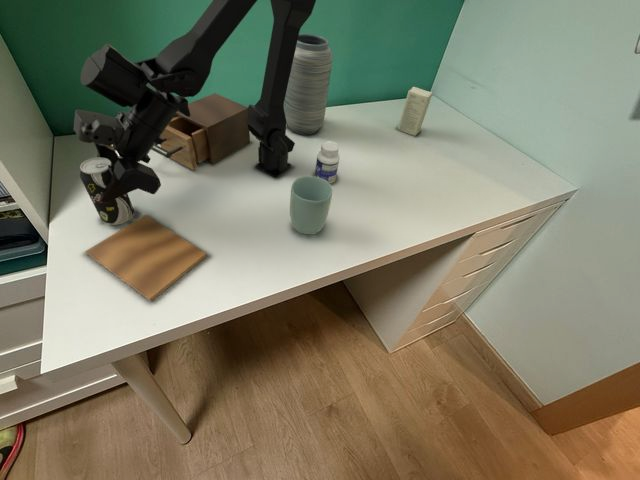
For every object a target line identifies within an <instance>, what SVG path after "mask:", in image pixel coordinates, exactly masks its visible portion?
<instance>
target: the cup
mask: <svg viewBox="0 0 640 480" xmlns="http://www.w3.org/2000/svg"><path fill="white" fill-rule="evenodd" d="M289 197H290V198H289V219H290V223H291V225H292V227H293V228H294V229H295V231H297V232H298V233H300V234H304V235H315V234H318V233H319V232H320V231H321V230H322V229H323V228H324V226H325V224H326V222H327V220H328V217H329V213H330V208H331V204H332V198H333V187H332V184H331V183H328V182H327V181H326V180H324V179H322V178H319V177H315V175H303V176H300V177H298V178H296V179H295V180H293V182H292V184H291V187H290V196H289Z"/></svg>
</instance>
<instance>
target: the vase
mask: <svg viewBox="0 0 640 480" xmlns="http://www.w3.org/2000/svg"><path fill="white" fill-rule="evenodd" d="M329 45H330V44H329V40H328V39H327V38H325V37H324V36H321V35H317V34H313V33H312V34H311V33H299V36H298V41H297V45H296V50H295V54H294V59H293V64H292V68H291V73H290V78H289V82H288V87H287V91H286V96H285V101H284V111H285V117H286V122H287V123H286V126H288V129H289V130H291V131H292V132H294V133H296V134H299V135H312V134H315V133H316V132H317V131H318V130H319V129H321V128H322V126H323V125H324V122H325V119H326V117H325V116H326V110H327V103H328V94H329V87H330V81H331V73H332V67H333V60H334V59H333V51H332V50H331V48H330V47H329Z"/></svg>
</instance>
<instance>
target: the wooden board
mask: <svg viewBox="0 0 640 480" xmlns="http://www.w3.org/2000/svg"><path fill="white" fill-rule="evenodd" d="M85 254H86V255H87V256H89V257H90V258H91V259H92V260H94V261H95V262H97V264H99V265H100V266H102V267H103V268H104V269H106V270H107V271H109V272H110V273H111V274H112V275H114V276H116V277H117V278H118V279H119V280H121V282H123V283H125V284H126V285H128V286H129V287H131V289H133V290H134V291H136V292H137V293H138V294H140V295H141V296H142V297H143V298H145V299H146V300H148V301H149V302H153V301H154V300H155V299H156V298H157V297H159V296H160V295H161V294H162V293H164V292H165V291H166V290H167V289H168V288H170V287H171V286H172V285H173V284H175V283H176V282H177V281H178V280H179V279H181V278H182V277H183V276H184V275H186V274H187V273H188V272H189V271H191V270H193V268H194V267H195V266H197V265H198V264H199V263H200V262H202V261H203V260H204V259H205V258H206V257H208V254H207V253H206V251H203V250H202V249H201V248H198V247H197V246H196V245H194V244H192V243H191V242H189V241H188V240H186V239H184V238H183V237H181V236H180V235H178V234H177V233H175V232H173V231H172V230H170V229H168V228H167V227H165V225H162V224H161V223H159V222H157V221H156V220H155V219H153V218H152V217H150V216H148V215H146V214H144V215H143V216H141V217H140V218H138V219H136V220H135V221H133V222H131V223H130V224H128V225H126V226H124V227H123V228H121V229H119V230H118V231H117V232H115V233H113V234H112V235H110V236H108V237H107V238H105V239H104V240H102V241H100V242H99V243H97V244H95V245H93V246H92V247H90V248H89V249H87V250H85Z"/></svg>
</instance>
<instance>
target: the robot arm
mask: <svg viewBox="0 0 640 480" xmlns="http://www.w3.org/2000/svg"><path fill="white" fill-rule="evenodd" d="M257 2H258V0H212V1H211V2H210V3H209V5H208V6H207V8H205V10H204V11H203V13H202V14H201V16H200V17H199V18H198V20H196V22H195V24H194V25H193V26H192V27H191V29H189V31H187V32H186V33H185V34H183V35H181V36H179V37H177V38H175V39H173V40H172V41H171V42H170V43H168V45H166V46H165V47H164V48H163V49H162V50H161V51H160V52H159V53H158V54H157V55H156V56H154V57H150V58H145V59H143V60H139V61H135V62H132V61H131V60H130V59H128V58H127V57H125V56H124V55H122V54H121V53H120V52H119V51H118V50H117V49H116V48H115V47H113V46H112V45H111V44H109V43H105V44H104V45H103V47H102V48H101V49H98V50H96V51H95V52H94V53H93V54H92V55H91V56H90V55H89V56H88V57H87V58H86V60H85V61H84V64H83V66H82V68H81V70H80V71H81V72H80V78H79V79H80V84H81V85H83V86H84V87H86V88H88V89H90V90H91V91H93V92H95V93H96V94H98V95H100V96H102V97H103V98H105V99H107V100H109V101H111V102H113V103H114V104H116V105H118V106H120V107H121V108H127V107H129V108H130V109H129V110H128V111H127V112H126V111H125V110H122V111H119V112H118V113H117V115H116V116H115V117H114V116H111V115H107V114H105V113H99V112H94V111H89V110H85V109H75V112H74V121H73V129H72V130H73V132H75V134H76V137H77V139H78V140H79V141H81V142H82V143H86V144H92V143H93V144H94V146H95V148H96V152H97V153H96V158H97V157H101V158H106V159H109V160H110V161H111V163H112V164H113V165H115V167H112V166H110V165H108V169H109V171H110V173H111V177H110V179H109V181H108V184H107V186H106V188H105V190H104V192H103V194H102V196H101V199H100V201H101V202H104V203H108V202H110V201H112V200H114V199H116V198H118V197H120V196H122V195H124V194H126V193H128V194H129V193H132V192H134V191H136V190H140V191H143V192H145V193H148V194H151V195H155V194H156V193H157V192H158V191H159V189H160V188H161V186H162V182H161V179H160V178H159V176H158V174H156V172H155V170H154V168H152V167H150V166H147V164H149V162H150V161H151V157H150V156H149V155H148V154H149V153H150V152H151V151H152V150H151V149H152V147H153V146H154V144H155V143H158V145H160V146H161V144H162V142H163V141H164V140H163V139H162V138H161V134H162V133H163V131H164V130H165V128H166V127H167V126H168V124H169V123H170V121H171V120H172V119H173V117H174V116H175V114H176V113H177V111H179V112H181V113H182V114H184V115H185V116H187V117H190V115H191V114H190V111H189V108H188V104H189V100H188V99H187V98H190V97H191V98H193V97H195V96H197V95H198V94H200V92H201V91H202V89H203V87H204V86H205V84H206V82H207V80H208V78H209V76H210V74H211V69H212V66H213V61H214V58H215V57H216V56H217V53H218V52H219V50H220V49H221V48H222V47H223V45H224V44H225V43H226V42H227V40H228V39H229V38H230V37H231V35H232V34H233V32H235V30H236V29H237V28H238V26H239V25H240V23H242V21H243V19H245V17H246V16H247V15H248V13H249V12H250V11H251V9H252V8H253V7H254V5H256V3H257ZM316 3H317V0H270V6H271V11H272V16H273V22H272V23H273V24H272V30H271V35H270V41H269V45H268V46H269V47H268V53H267V57H266V58H267V59H266V65H265V70H264V75H263V81H262V86H261V87H262V88H261V93H260V98H259V100H258V101H257V102H256V103H255V104H249V105H248V106H247V107H248V117H247V119H246V121H245V122H246V123H247V124H248V129H249V131H250V134H252V136H254V137H255V139H256V140H257V141H259V143H258V145H259V146H258V147H257V152H258V153H257V155H258V156H257V157H258V158H257V159H258V163H257V164H255V165H254V167H255V169H257V170H259V171H261V172H263V173H265V174H267V175H269V176H271V177H273V178H278V177H279V176H281V175H282V174H284V173H285V172H287V170H289V169H291V167H292V164H291V163H289V153H291V152H293V150H294V147H295V146H296V145H295V144H296V143H295V142H294V141H293V140H292V139H291V138H290V137H289V136H288V135H287V124H286V123H287V122H286V117H285V111H284V102H285V96H286V91H287V87H288V82H289V78H290V73H291V68H292V64H293V59H294V54H295V50H296V45H297V41H298V36H299V34H300V31H301V29H302V27H303V26H304V24H305V23H306V22H307V20H308V19H309V18H310V17H311V16H312V13H313V10H314V9H315V5H316ZM140 162H143V163H145V164H146V165H145V164H143V163H140Z"/></svg>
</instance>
